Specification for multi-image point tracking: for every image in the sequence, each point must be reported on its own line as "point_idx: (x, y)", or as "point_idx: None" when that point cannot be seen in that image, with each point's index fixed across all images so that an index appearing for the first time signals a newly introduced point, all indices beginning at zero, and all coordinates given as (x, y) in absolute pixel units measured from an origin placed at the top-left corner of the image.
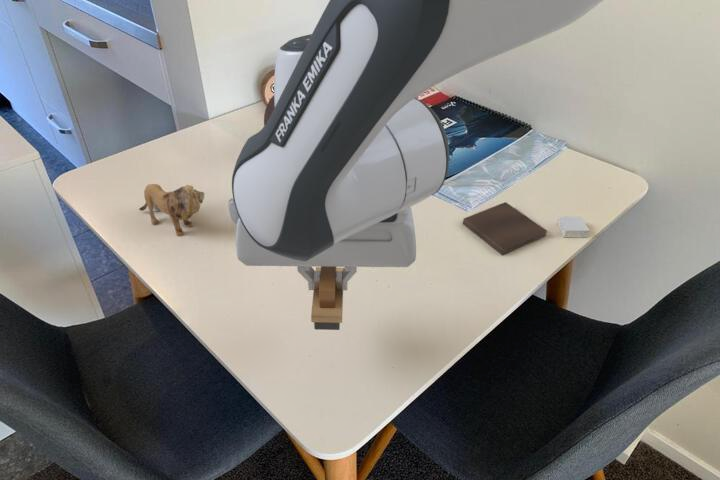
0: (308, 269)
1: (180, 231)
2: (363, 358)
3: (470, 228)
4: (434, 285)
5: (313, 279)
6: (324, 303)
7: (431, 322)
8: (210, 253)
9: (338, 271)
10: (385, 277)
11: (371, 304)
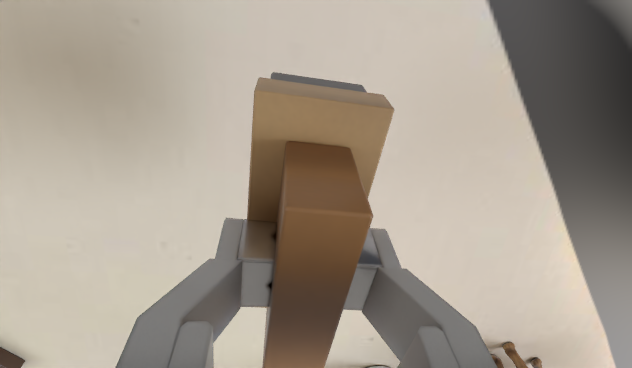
0: (426, 337)
1: (509, 350)
2: (216, 61)
3: (3, 353)
4: (59, 242)
5: (376, 274)
6: (333, 157)
7: (49, 149)
8: (475, 315)
9: (257, 305)
10: (171, 264)
11: (199, 206)
